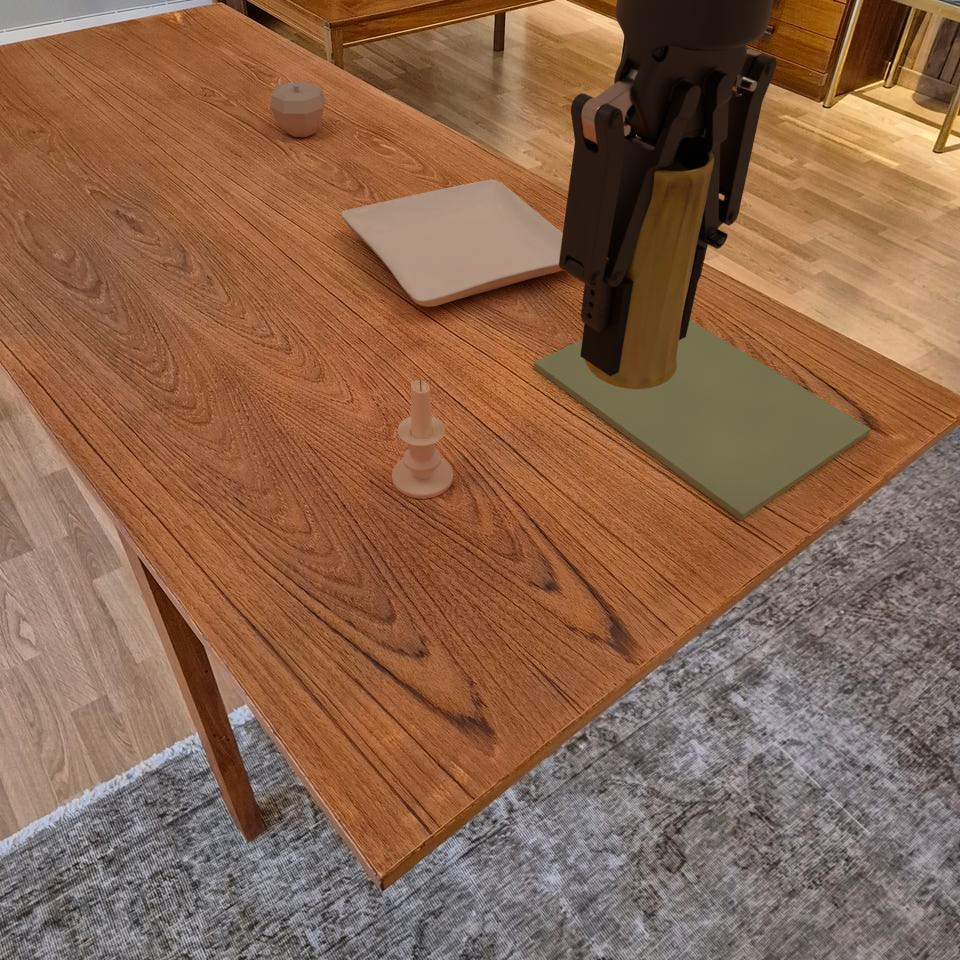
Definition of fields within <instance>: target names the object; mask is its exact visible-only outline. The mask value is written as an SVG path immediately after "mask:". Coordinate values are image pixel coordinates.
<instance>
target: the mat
mask: <svg viewBox="0 0 960 960" xmlns="http://www.w3.org/2000/svg"><path fill="white" fill-rule="evenodd" d="M581 347H582V339H579V340H578V341H576V342H574V343H572V344H569V345H567V346H566V347H562V348H561V349H559V350H557V351H554V352H552V353H549V354H548V355H546V356H544V357H542V358H540V359H538V360H535V361H534V362H533V369H534V370H535V371H536V372H538V373H540V375H542V376H543V377H545V379H547V380H549V381H550V382H551V383H553V385H556V386H557V387H558V388H559V389H561V390H562V391H564V392H565V393H566V394H567V395H569V396H570V397H572V398H573V399H574V400H575V401H577V402H579V404H581V405H583V407H585V408H586V409H588V410H589V411H591V412H592V413H593V414H594V415H596V416H598V418H600V419H601V420H603V421H604V422H605V423H607V424H608V425H610V426H611V427H612V428H614V429H615V430H617V431H618V432H619V433H621V434H622V435H623V436H624V437H626V438H627V439H629V440H630V441H632V442H633V443H634V444H636V445H637V447H640V448H641V449H642V450H644V451H645V452H646V453H648V454H649V455H650V456H651V457H653V458H655V459H656V460H657V461H658V462H660V463H661V464H662V465H664V466H665V467H666V468H667V469H670V471H672V472H673V473H675V474H676V475H678V476H679V477H680V478H682V479H683V480H684V481H685V482H687V483H688V484H690V485H691V486H692V487H693V488H695V489H696V490H698V491H699V492H701V493H702V494H703V495H705V496H706V497H707V498H709V499H710V500H711V501H712V502H714V503H715V504H717V505H718V506H720V507H721V509H723V510H725V511H726V512H728V513H729V514H730V515H732V516H733V517H734V518H736V520H738V521H740V522H742V521H744V520H745V519H746V518H747V517H749V516H751V515H752V514H754V513H755V512H757V511H758V510H760V509H761V508H763V507H764V506H765V505H767V504H769V503H770V502H771V501H773V500H774V499H776V498H777V497H779V496H780V495H782V494H783V493H785V492H786V491H788V490H789V489H791V488H792V487H794V486H795V485H797V484H798V483H800V482H801V481H803V480H804V479H805V478H807V477H809V476H810V475H812V474H813V473H815V472H816V471H817V470H819V469H820V468H822V467H824V466H825V465H826V464H828V463H830V462H831V461H832V460H834V459H836V457H838V456H840V455H841V454H843V453H845V451H847V450H848V449H850V448H851V447H853V446H855V445H856V444H857V443H859V442H860V441H862V440H863V439H865V438H866V437H868V436H869V434H870V432H871V430H872V428H870V427H869V426H868V425H865V424H864V423H862V422H860V421H859V420H857V419H855V418H854V417H852V416H850V415H849V414H848V413H846V412H844V411H842V410H841V409H839V408H837V407H835V406H834V405H833V404H831V403H829V402H827V401H825V400H824V399H822V398H821V397H819V396H817V395H816V394H814V393H812V392H811V391H809V390H807V389H806V388H804V387H802V386H801V385H799V384H798V383H796V382H794V381H793V380H791V379H789V378H788V377H786V376H784V375H782V374H780V373H779V372H778V371H776V370H774V369H772V368H771V367H769V366H768V365H766V364H764V363H762V362H761V361H759V360H757V359H756V358H755V357H752V356H751V355H750V354H748V353H746V352H745V351H742V350H741V349H739V348H737V347H736V346H734V345H733V344H731V343H730V342H728V341H726V340H724V339H722V338H721V337H719V336H718V335H716V334H714V333H713V332H711V331H710V330H708V329H706V328H705V327H703V326H701V325H699V324H698V323H696V322H694V321H693V320H691V319H690V321H689V325H688V330H687V334H686V337H685V338H683V339H681V340H679V342H678V349H677V357H676V358H677V369H676V372H675V374H674V375H673V376H672V377H671V378H670V379H669V380H668V381H667V382H665V383H663V384H661V385H659V386H656V387H652V388H647V389H627V388H621V387H617V386H614V385H611V384H608V383H606V382H604V381H602V380H601V379H599V378H598V377H596V376H595V375H594V374H593V373H592V372H591V371H590V369H589V368H588V366H587V364H586V362H585V359H584V358H582V357H581V356H580V355H581Z"/></svg>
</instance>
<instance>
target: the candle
mask: <svg viewBox="0 0 960 960" xmlns="http://www.w3.org/2000/svg"><path fill="white" fill-rule="evenodd" d="M431 399H432V398H431V388H430V385H429V383H427V382H426V381H424V380H421V379H420V380H419V379H418V380H417V379H416V380H414V381H412V382H411V384H410V416H408V417H406V418H404V419H403V420H401V422H400V423H399V424H398V426H397V429H396V430H397V435H398V437H399V439H400V440H401V441H402V442H404V443H405V444H407V447H408V448H407V449H406V450H405V451H404V453H403V455H402V458H401V459H400V460H398V462H397V463H395V464H394V466H393V469H392V471H391V481H392V485H393V486H394V487H395V489H396V490H397V491H398V492H399V493H401V494H402V495H405V496H407V497H408V498H412V499H418V500H419V499H424V500H426V499H430V498H435V497H438V496H440V495H442V494H443V493H445V492H447V491H448V490H449V488H451V486H452V483H453V482H454V470H453V467H452V465H451V464H450V462H448V461H447V460H446V459H445V458H443V457H442V453H441V452H440V450H439V449H438V448H436V444H437V443H438V442H440V441H441V440H442V439H443V438H444V437H445V434H446V427H445V424H444V422H443V421H442V420H440V419H439V418H438V417H435V416H432V400H431Z"/></svg>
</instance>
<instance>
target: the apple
mask: <svg viewBox="0 0 960 960" xmlns="http://www.w3.org/2000/svg"><path fill="white" fill-rule="evenodd" d="M325 105H326V98H325V95H324V92H323V89H322V88H321V87H320V86H318V85H316V84H314V83H312V82H309V81H288V82H285V83H282V84H278V85H276V86H275V87H274V88H273V91H272V93H271V98H270V104H269V108H270V110H271V112H272V114H273V117H274V119H275V121H276V122H277V123H278V125H279V126H280V127H281V130H283V131H284V132H285V133H286V134H288V135H290V136H292V137H294V138H307V137H309V136H313V135H315V134H316V133H317V131H318V130H319V128H320V125H321V123H322V119H323V114H324V109H325Z"/></svg>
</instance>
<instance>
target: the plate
mask: <svg viewBox="0 0 960 960" xmlns="http://www.w3.org/2000/svg"><path fill="white" fill-rule="evenodd" d="M340 217H341V219H342V220H343V222H344V223H345V224H346V226H348V228H349V229H350V230H351V231H352V232H354V233H355V235H356V236H358V238H360V239H361V241H362V242H363V243H365V245H366V246H368V248H369V249H370V250H371V251H372V252H373V253H374V254H375V255H376V256H377V258H379V259H380V261H381V262H382V263H383V264H384V265H385V266H386V268H387V269H388V270H389V271H390V273H391V274H392V275H393V277H394V278H395V280H396V282H398V284H399V285H400V286H401V287H402V289H403V290H404V292H405V293H406V294H407V295H408V296H409V298H410V299H411V300H412V301H413V302H414V303H415V304H416V305H418V306H421V307H426V308H427V307H428V308H429V307H437V306H441V305H444V304H448V303H451V302H454V301H457V300H461V299H465V298H468V297H472V296H475V295H480V294H484V293H487V292H491V291H494V290H498V289H501V288H504V287H508V286H510V285H514V284H517V283H521V282H525V281H528V280H531V279H534V278H538V277H543V276H546V275H552V274H555V273H558V272H561V271H563V270H562V269H561V268H560V267H559V258H560V251H561V243H562V236H563V231H561V230H560V229H558V228H557V227H556V226H555V225H554V224H552V223H551V222H550V221H549V220H548V219H546V218H545V217H544V216H543V215H541V214H540V213H539V212H538V211H536V209H534V208H533V207H531V206H530V204H528V203H527V202H526V201H524V199H522V198H521V197H520V196H519V195H517V193H515V192H514V191H513V190H512V189H510V188H509V187H508V186H506V185H505V184H504V183H502V182H501V181H499V180H497V179H493V178H490V179H485V180H480V181H474V182H470V183H465V184H460V185H459V184H458V185H454V186H450V187H445V188H439V189H437V190H436V189H435V190H430V191H426V192H422V193H417V194H411V195H407V196H401V197H398V198H393V199H389V200H384V201H381V202H376V203H371V204H367V205H363V206H358V207H353V208H349V209H345V210H343V211H341V213H340Z"/></svg>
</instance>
